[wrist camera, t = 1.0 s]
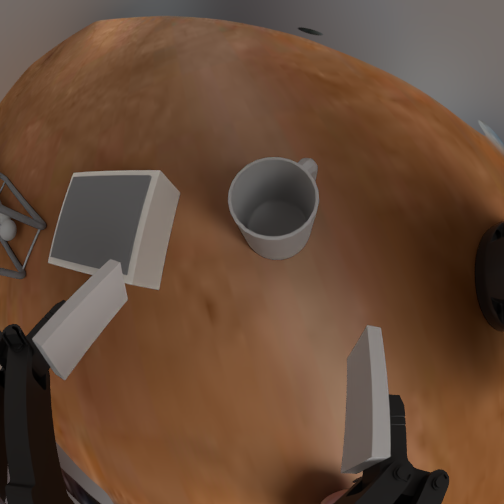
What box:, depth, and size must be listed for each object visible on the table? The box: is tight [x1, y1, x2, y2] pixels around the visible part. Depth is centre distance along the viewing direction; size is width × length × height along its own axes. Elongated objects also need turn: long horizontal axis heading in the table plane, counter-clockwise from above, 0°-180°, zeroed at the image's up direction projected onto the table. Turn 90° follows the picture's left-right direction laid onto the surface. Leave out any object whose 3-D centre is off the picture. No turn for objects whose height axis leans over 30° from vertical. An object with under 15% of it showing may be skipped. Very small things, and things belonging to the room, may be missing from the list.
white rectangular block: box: [48, 170, 180, 290], centre depth 29 cm, size 14×12×6 cm
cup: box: [228, 157, 319, 260], centre depth 25 cm, size 7×10×9 cm
